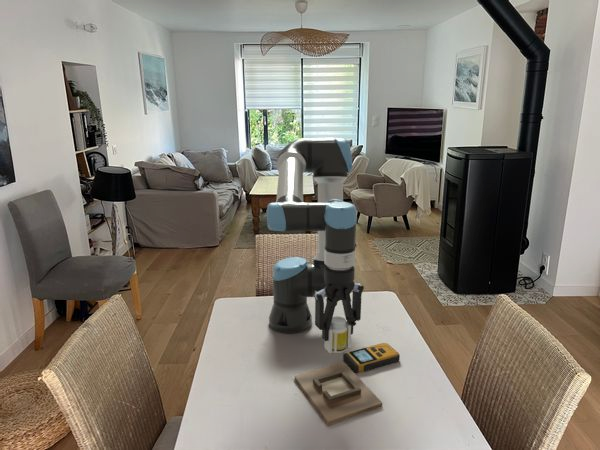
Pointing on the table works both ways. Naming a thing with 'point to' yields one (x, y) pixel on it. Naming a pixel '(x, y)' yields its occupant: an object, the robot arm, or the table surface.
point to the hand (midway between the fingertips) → (337, 347)
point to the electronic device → (371, 357)
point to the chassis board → (337, 393)
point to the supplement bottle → (339, 334)
